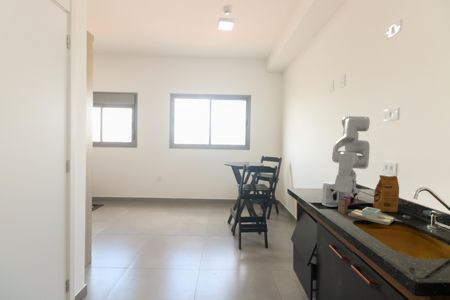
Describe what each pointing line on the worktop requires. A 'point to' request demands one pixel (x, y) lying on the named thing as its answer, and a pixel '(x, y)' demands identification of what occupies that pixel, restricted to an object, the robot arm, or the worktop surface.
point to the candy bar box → (347, 195)
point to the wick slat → (342, 205)
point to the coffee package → (387, 194)
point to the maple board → (381, 219)
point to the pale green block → (371, 212)
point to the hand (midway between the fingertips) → (343, 202)
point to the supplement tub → (328, 195)
